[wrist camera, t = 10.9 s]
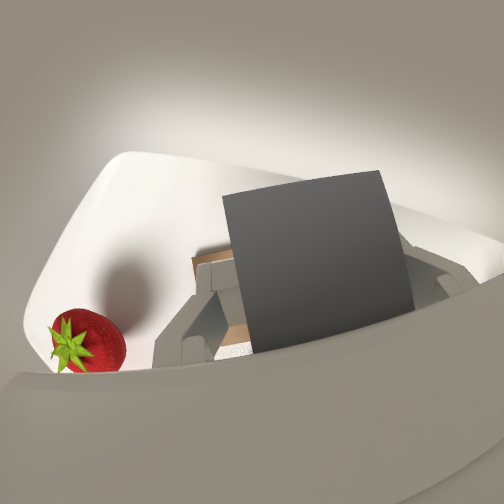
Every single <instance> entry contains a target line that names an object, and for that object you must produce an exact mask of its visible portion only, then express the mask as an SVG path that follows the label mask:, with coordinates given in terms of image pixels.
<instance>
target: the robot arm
mask: <svg viewBox="0 0 504 504" xmlns="http://www.w3.org/2000/svg"><path fill="white" fill-rule="evenodd" d="M398 233H399V232H398ZM399 236H400V240H401V244H402V248H403V252H404V256H405V261H406V265H407V270H408V274H409V279H410V284H411V289H412V295H413V300H414V305H415V306H416V307H418V308H419V309H417V310H414V311H412V312H409V313H406V314H403V315H400V316H397V317H394V318H391V319H388V320H385V321H382V322H379V323H375V324H372V325H369V326H366V327H362V328H359V329H356V330H352V331H349V332H345V333H341V334H338V335H334V336H330V337H327V338H323V339H319V340H315V341H311V342H307V343H303V344H298V345H294V346H290V347H285V348H281V349H276V350H271V351H266V352H261V353H256V354H251V355H246V356H240V357H235V358H229V359H223V360H216V361H215V360H214V356H215V354H216V352H217V350H218V348H219V347H220V345H221V343H222V341H223V339H224V337H225V335H226V333H227V331H228V329H229V327H232V326H237V325H242V324H246V323H247V321H246V317H245V312H244V307H243V302H242V297H241V292H240V287H239V282H238V277H237V272H236V267H235V262H234V258H229V259H223V260H218V261H212V262H208V263H203V264H198V266H197V276H196V295H192V296H191V297H190V299H189V300H188V301H187V302H186V303H185V305H184V306H183V307H182V308H181V310H180V311H179V312H178V313H177V314H176V316H175V317H174V318H173V319H172V321H171V322H170V323H169V324H168V325H167V327H166V328H165V329H164V330H163V332H162V333H161V334H160V335H159V337H158V338H157V339H156V340H155V346H154V354H153V364H152V369H142V370H130V371H114V372H92V373H38V372H37V373H36V372H20V373H17V374H16V375H15V376H14V377H13V378H12V379H10V380H9V381H8V382H7V383H6V384H5V385H4V386H3V388H2V389H1V390H0V504H504V273H503V274H501V275H499V276H497V277H495V278H492V279H490V280H488V281H486V282H484V283H482V284H479V283H478V282H477V280H476V279H475V278H474V277H473V276H472V275H471V273H470V272H469V271H468V270H467V269H466V268H465V267H464V266H462V265H460V264H457V263H455V262H453V261H450V260H448V259H446V258H443V257H441V256H439V255H436V254H434V253H431V252H429V251H426V250H424V249H422V248H419V247H417V246H415V247H412V246H411V244H410V243H409V242H408V241H407V240H406V239H405V238H404V237H403V236H402V235H401V234H400V233H399Z"/></svg>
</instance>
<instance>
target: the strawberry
mask: <svg viewBox="0 0 504 504" xmlns="http://www.w3.org/2000/svg"><path fill="white" fill-rule="evenodd" d="M48 328H49V330H50V332H51V334H52V342H53V346H54V351H53V352H52V353H51V354H52V356H51V359H52V357H53V355H56V356H58V357H59V358H60V359H59V367H58V373H60V372H61V371H62V370H63V369H64V368H65V367H66V366H67V367H68V368H69V369H70V370H71V371H73V372H74V373H92V372H114V371H118V370H119V369H120V368H121V366H122V364H123V362H124V360H125V357H126V344H125V340H124V338H123V336H122V334H121V332H120V331H119V329H118V328H117V327H116V326H115V325H114V324H113V323H112V322H111V321H110V320H109V319H107V318H106V317H104V316H102V315H100V314H97V313H95V312H92V311H90V310H86V309H72V310H69V311H66V312H64V313H62V314H60V315H59V316H58V317H57V318H56V319H55V321H54V323H53V326H52V329H51V328H50V327H48Z"/></svg>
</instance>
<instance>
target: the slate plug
mask: <svg viewBox="0 0 504 504" xmlns="http://www.w3.org/2000/svg"><path fill="white" fill-rule="evenodd" d="M222 199H223V204H224V209H225V215H226V220H227V225H228V231H229V236H230V241H231V246H232V252H233V257H234V262H235V267H236V272H237V277H238V282H239V287H240V292H241V297H242V302H243V307H244V312H245V317H246V321H247V326H248V331H249V336H250V341H251V345H252V350H253V354H256V353H261V352H266V351H271V350H276V349H281V348H285V347H290V346H294V345H298V344H303V343H307V342H311V341H315V340H319V339H323V338H327V337H330V336H334V335H338V334H341V333H345V332H349V331H352V330H356V329H359V328H362V327H366V326H369V325H372V324H375V323H379V322H382V321H385V320H388V319H391V318H394V317H397V316H400V315H403V314H406V313H409V312H412V311H414V310H415V306H414V300H413V295H412V289H411V284H410V279H409V274H408V270H407V265H406V261H405V256H404V252H403V248H402V244H401V240H400V236H399V233H398V229H397V225H396V222H395V218H394V215H393V211H392V208H391V205H390V202H389V199H388V196H387V192H386V189H385V186H384V183H383V180H382V177H381V175H380V172H379V170H376V171H369V172H361V173H353V174H346V175H339V176H332V177H326V178H318V179H312V180H306V181H300V182H294V183H288V184H282V185H277V186H271V187H266V188H260V189H255V190H250V191H245V192H240V193H235V194H230V195H225V196H222Z"/></svg>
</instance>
